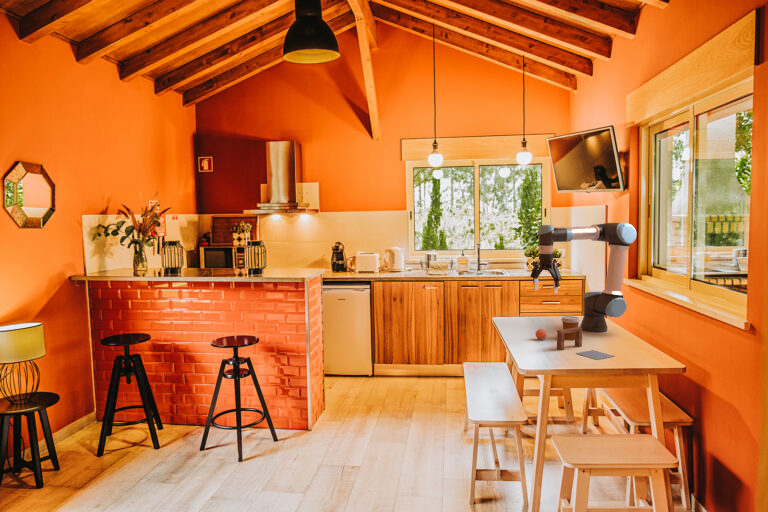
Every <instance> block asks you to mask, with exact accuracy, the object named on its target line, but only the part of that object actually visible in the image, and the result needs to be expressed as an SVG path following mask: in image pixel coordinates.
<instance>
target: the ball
mask: <svg viewBox="0 0 768 512" xmlns="http://www.w3.org/2000/svg"><path fill="white" fill-rule="evenodd" d="M547 336H548V333H547V332H546V330H545V329H544V328H539V329H537V330H536V332H535V337H536V338H537V340H540V341H544V340H545V339H546V338H547Z"/></svg>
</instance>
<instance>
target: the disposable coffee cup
mask: <svg viewBox="0 0 768 512" xmlns="http://www.w3.org/2000/svg"><path fill="white" fill-rule="evenodd" d="M561 321H562V330H563V329H570V328H577V327H578V328H579V323H580V321H581V320H580V318H579V317H578V316H572V315H569V316H568V315H565V316H562V318H561ZM564 340H567V341H575V332H571V333H564Z"/></svg>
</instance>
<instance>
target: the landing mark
mask: <svg viewBox="0 0 768 512" xmlns="http://www.w3.org/2000/svg"><path fill="white" fill-rule="evenodd" d="M575 353H576V354H575V355H578V354H579V355H578V356H581V355H582V357H585V358H588V357H589V359H592V360H596V361H598V359H599V360H604V358H605V359H609V358H608V357H610V358H615V357H614V356H615V355H613V354H609V353H605V352H602V351H598V350H594V349H592V350H591V349H590V350H586V351H580V352H575Z"/></svg>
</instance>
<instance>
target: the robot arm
mask: <svg viewBox="0 0 768 512" xmlns="http://www.w3.org/2000/svg"><path fill="white" fill-rule="evenodd" d="M538 227H539V228H538V231H537V236H538V260H537V261H536V260H535V261H534V266H533V269H532V271H531V273H530V277H531V278H532V279H533V281H532V282H533V285H534V286H533V291H539V282H540V281H539V277H540V275H541V273H543V271H547V272H549V274H550V275H551V277H552V279H553V282H552V283H553V284H552V294H558V293H559V290H558V288H559V286H560V284H559V283H560V281H563V278H562V275H561V272H560V269H559V267H558V262H553V261H554V254H553V253H554V243H556V242H557V243H566V242H567V243H568V242H571V241H575V240H576V241H577V240H579V241H580V240H582V241H583V240H591V241H592V242H593V241H594V242H595V241H596V242H597V241H598V242H604V243H608V244H607V246H608V247H609V248H610V250H609V255H608V256H609V257H608V258H609V259H608V264H607V265H608V266H607V273H606V279H605V285H604V286H605V287H604V290H602V291H587V292H585V293H584V296H583V297H584V298H583V318H582V320H581V323H580V327H579V328H582V331H585V332H593V333H604V332H608V325H607V321H606V319H605V318H606V317H608V318H615V319H616V318H620V317H621V316H622V315H624V314H625V313H626V311H627V306H628V305H627V302H626V300H625V299H624V293H623V292H622V288H623V287H622V286H623V281H624V275H625V274H624V273H625V264H626V257H627V251H628V249H630V248H631V244H633V243H634V242H635V241H636V239H637V230H636V228H635V227H634V226H633V225H632V224H630V223H627V222H605V223H600V224H599V223H597V224H591V225H590V226H568V227H567V226H564V227H563V226H562V227H554V225H553V224H541V225H539V226H538ZM605 316H606V317H605Z"/></svg>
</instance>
